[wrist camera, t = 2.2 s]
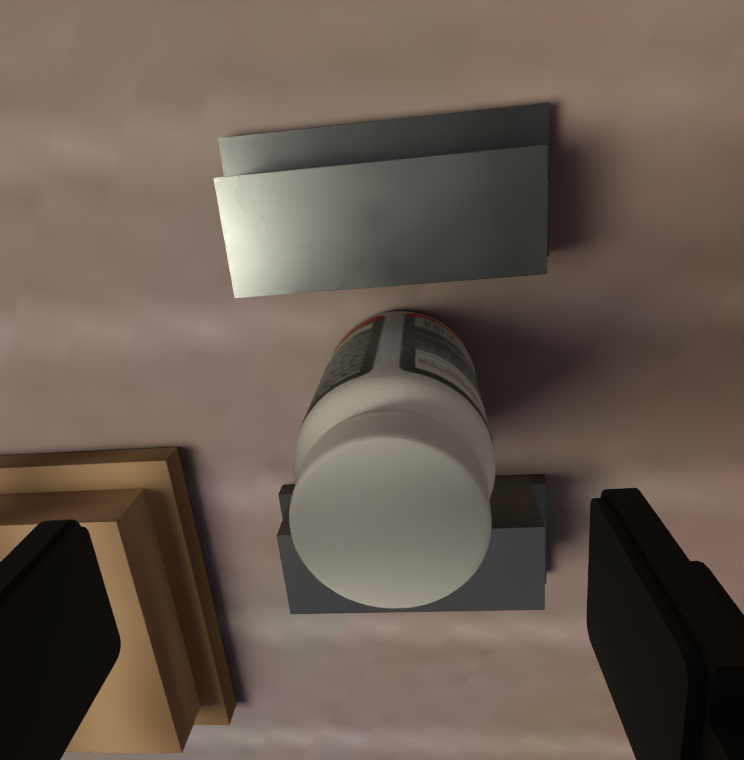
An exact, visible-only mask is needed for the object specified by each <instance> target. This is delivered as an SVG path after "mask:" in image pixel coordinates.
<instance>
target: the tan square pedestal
mask: <svg viewBox="0 0 744 760" xmlns="http://www.w3.org/2000/svg"><path fill="white" fill-rule="evenodd" d="M69 519H74V520H76V521H78V523H79V524H80V525H81V526H83V527H86V528H87V529H88V531H89V533H90V537H91V540H92V543H93V547H94V550H95V553H96V557H97V560H98V564H99V567H100V570H101V574H102V577H103V581H104V584H105V587H106V591H107V594H108V597H109V601H110V604H111V608H112V611H113V614H114V618H115V621H116V625H117V628H118V631H119V635H120V639H121V649H120V654H119V657H118V659H117V661H116V663H115V665H114V666H113V668H112V670H111V672H110V673H109V675H108V677H107V679H106V680H105V682H104V684H103V686H102V687H101V689H100V691H99V693H98V694H97V696H96V698H95V700H94V701H93V703H92V705H91V707H90V708H89V710H88V712H87V714H86V715H85V717H84V719H83V721H82V722H81V724H80V726H79V728H78V729H77V731H76V733H75V735H74V736H73V738H72V740H71V742H70V743H69V745H68V747H67V749H66V750H65V752H115V753H182V752H183V749H184V747H185V744H186V742H187V739H188V737H189V734H190V732H191V729H192V727H193V725H230V722H231V719H232V716H233V713H234V710H235V707H236V704H237V703H236V699H235V695H234V690H233V686H232V682H231V677H230V673H229V669H228V664H227V660H226V656H225V651H224V647H223V643H222V638H221V634H220V630H219V625H218V621H217V616H216V612H215V608H214V603H213V599H212V595H211V590H210V586H209V582H208V577H207V573H206V569H205V564H204V560H203V556H202V551H201V547H200V543H199V538H198V534H197V530H196V525H195V521H194V517H193V512H192V508H191V504H190V499H189V495H188V491H187V486H186V482H185V478H184V473H183V469H182V465H181V460H180V456H179V452H178V447H166V448H146V449H125V450H105V451H85V452H65V453H44V454H24V455H4V456H0V562H1V561H2V560H3V559H4V558H5V557H6V556H7V555H8V554H9V553H10V552H11V551H12V550H13V549H14V548H15V547H16V546H17V545H18V544H19V543H20V542H21V541H22V540H23V539H24V538H25V537H26V536H27V535H28V534H29V533H30V532H31V531H32V530H33V529H34V528H35V527H36V526H37V525H38V524H39V523H41V522H42V521H51V520H69Z"/></svg>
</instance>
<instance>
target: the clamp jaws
mask: <svg viewBox="0 0 744 760" xmlns="http://www.w3.org/2000/svg"><path fill="white" fill-rule="evenodd" d="M218 143H219V148H220V154H221V160H222V166H223V172H224V177H218V178H214V183H215V189H216V195H217V200H218V206H219V212H220V217H221V223H222V228H223V234H224V240H225V245H226V251H227V257H228V262H229V268H230V274H231V279H232V285H233V291H234V296H235V298H240V297H253V296H266V295H279V294H293V293H306V292H319V291H332V290H345V289H358V288H371V287H384V286H397V285H410V284H423V283H436V282H449V281H462V280H475V279H488V278H501V277H514V276H527V275H540V274H547V257H548V256H549V164H550V103H542V104H533V105H524V106H514V107H505V108H496V109H486V110H477V111H468V112H458V113H449V114H440V115H430V116H421V117H412V118H402V119H393V120H384V121H374V122H365V123H356V124H346V125H337V126H328V127H318V128H309V129H300V130H290V131H281V132H272V133H262V134H253V135H244V136H234V137H225V138H218ZM294 488H295V485H282V487H281V490H280V492H279V500H280V506H281V512H282V518H283V521H282V523H281V526H280V528H279V531H278V534H277V540H278V545H279V551H280V557H281V562H282V568H283V574H284V579H285V585H286V591H287V596H288V602H289V608H290V613H291V614H323V613H381V612H438V611H496V610H545V584H546V559H547V482H546V480H545V477H544V475H522V476H498V477H495V481H494V486H493V490H492V493H491V496H490V509H491V518H492V532H491V538H490V543H489V547H488V550H487V552H486V555H485V557H484V559H483V561H482V563H481V565H480V566H479V568H478V569H477V571H476V572H475V573H474V574H473V575H472V576H471V577H470V579H469V580H468V581H466V582H465V584H464V585H462V586H461V587H460V588H458V589H457V590H455V591H454V592H452V593H451V594H449V595H448V596H446V597H443V598H441V599H439V600H437V601H434V602H432V603H429V604H425V605H421V606H417V607H410V608H380V607H374V606H369V605H365V604H362V603H358V602H355V601H353V600H350V599H347V598H345V597H343V596H341V595H339V594H338V593H336V592H334V591H333V590H332V589H330V588H329V587H327V586H325V585H324V584H323V583H321V582H320V581H319V580H318V579H317V578H316V577H315V576H314V575H313V574H312V573H311V571H310V570H309V569H308V568H307V566H306V565H305V564H304V562H303V561H302V559H301V558H300V556H299V554H298V552H297V550H296V548H295V546H294V543H293V540H292V536H291V531H290V524H289V508H290V502H291V498H292V494H293V491H294Z"/></svg>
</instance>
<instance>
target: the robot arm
mask: <svg viewBox="0 0 744 760" xmlns="http://www.w3.org/2000/svg"><path fill="white" fill-rule="evenodd" d="M587 629H588V634H589V639H590V642H591V644H592V647H593V650H594V652H595V655H596V657H597V660H598V662H599V665H600V668H601V670H602V673H603V675H604V678H605V680H606V683H607V686H608V688H609V691H610V693H611V696H612V698H613V701H614V704H615V706H616V709H617V711H618V714H619V717H620V719H621V722H622V724H623V727H624V729H625V732H626V735H627V737H628V740H629V742H630V745H631V747H632V750H633V753H634V755H635V758H636V760H744V615H743V614H742V612H741V611H740V609H739V608H738V607H737V605H736V604H735V603H734V601H733V600H732V599H731V597H730V596H729V595H728V593H727V592H726V591H725V589H724V588H723V587H722V585H721V584H720V583H719V581H718V580H717V579H716V577H715V576H714V575H713V573H712V572H711V571H710V569H709V568H708V567H707V566H706V565H705V564H704V563H702V562H699V561H690V560H689V559H688V558H687V556H686V555H685V553H684V552H683V551H682V549H681V548H680V546H679V545H678V544H677V542H676V541H675V539H674V538H673V537H672V535H671V534H670V532H669V531H668V530H667V528H666V527H665V525H664V524H663V523H662V521H661V520H660V518H659V517H658V516H657V514H656V513H655V511H654V510H653V509H652V507H651V506H650V504H649V503H648V502H647V500H646V499H645V497H644V496H643V495H642V493H641V492H640V491H639V490H638V489H637V488H623V489H605V490H603V491H602V493H601V498H593V499H592V500H591V506H590V534H589V564H588V594H587ZM120 649H121V639H120V635H119V631H118V628H117V625H116V621H115V618H114V614H113V611H112V608H111V604H110V601H109V597H108V594H107V591H106V587H105V584H104V581H103V577H102V574H101V570H100V567H99V564H98V560H97V557H96V553H95V550H94V547H93V543H92V540H91V537H90V533H89V531H88V529H87V528H86V527H83V526H81V525H80V524H79V523H78V521H76V520H74V519H69V520H51V521H42V522H41V523H39V524H38V525H37V526H36V527H35V528H34V529H33V530H32V531H31V532H30V533H29V534H28V535H27V536H26V537H25V538H24V539H23V540H22V541H21V542H20V543H19V544H18V545H17V546H16V547H15V548H14V549H13V550H12V551H11V552H10V553H9V554H8V555H7V556H6V557H5V558H4V559H3V560H2V561H1V562H0V760H60V759H61V757H62V756H63V754H64V752H65V750H66V749H67V747H68V745H69V743H70V742H71V740H72V738H73V736H74V735H75V733H76V731H77V729H78V728H79V726H80V724H81V722H82V721H83V719H84V717H85V715H86V714H87V712H88V710H89V708H90V707H91V705H92V703H93V701H94V700H95V698H96V696H97V694H98V693H99V691H100V689H101V687H102V686H103V684H104V682H105V680H106V679H107V677H108V675H109V673H110V672H111V670H112V668H113V666H114V665H115V663H116V661H117V659H118V657H119V654H120Z"/></svg>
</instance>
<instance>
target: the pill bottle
mask: <svg viewBox="0 0 744 760" xmlns="http://www.w3.org/2000/svg"><path fill="white" fill-rule="evenodd" d="M495 474H496V464H495V453H494V446H493V441H492V436H491V434H490V430H489V426H488V422H487V418H486V414H485V409H484V406H483V402H482V398H481V394H480V390H479V386H478V381H477V377H476V373H475V367H474V365H473V362H472V360H471V357H470V354H469V352H468V351H467V349H466V347H465V345H464V344H463V342H462V341H461V340H460V338H459V337H458V336H457V335H456V334H455V333H454V332H453V331H452V330H451V329H450V328H448V327H447V326H446V325H444V324H443V323H441V322H440V321H438V320H436V319H434V318H432V317H429V316H426V315H423V314H419V313H414V312H406V311H393V312H386V313H381V314H378V315H375V316H372V317H370V318H368V319H366V320H364V321H362V322H360V323H359V324H357V325H356V326H355V327H353V328H352V329H351V330H350V331H349V332H348V333H347V334H346V335H345V336H344V337H343V338H342V339H341V341H340V342H339V344H338V345H337V347H336V349H335V350H334V353H333V354H332V356H331V359H330V361H329V363H328V366H327V368H326V370H325V372H324V375H323V377H322V379H321V381H320V384H319V386H318V388H317V391H316V393H315V395H314V398H313V400H312V402H311V405H310V407H309V409H308V412H307V414H306V416H305V418H304V420H303V423H302V426H301V428H300V431H299V434H298V438H297V442H296V446H295V453H294V476H295V483H296V485H295V488H294V491H293V494H292V498H291V502H290V508H289V524H290V531H291V536H292V540H293V543H294V546H295V548H296V550H297V552H298V554H299V556H300V558H301V559H302V561H303V562H304V564H305V565H306V566H307V568H308V569H309V570H310V571H311V573H312V574H313V575H314V576H315V577H316V578H317V579H318V580H319V581H320V582H321V583H323V584H324V585H325V586H327V587H329V588H330V589H332V590H333V591H334V592H336V593H338V594H339V595H341V596H343V597H345V598H347V599H350V600H353V601H355V602H358V603H362V604H365V605H369V606H374V607H380V608H410V607H417V606H421V605H425V604H429V603H432V602H434V601H437V600H439V599H441V598H443V597H446V596H448V595H449V594H451V593H452V592H454V591H455V590H457V589H458V588H460V587H461V586H462V585H464V584H465V582H466V581H468V580H469V579H470V577H471V576H472V575H473V574H474V573H475V572H476V571H477V569H478V568H479V566H480V565H481V563H482V561H483V559H484V557H485V555H486V552H487V550H488V547H489V543H490V538H491V532H492V518H491V509H490V496H491V493H492V490H493V486H494V481H495Z"/></svg>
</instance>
